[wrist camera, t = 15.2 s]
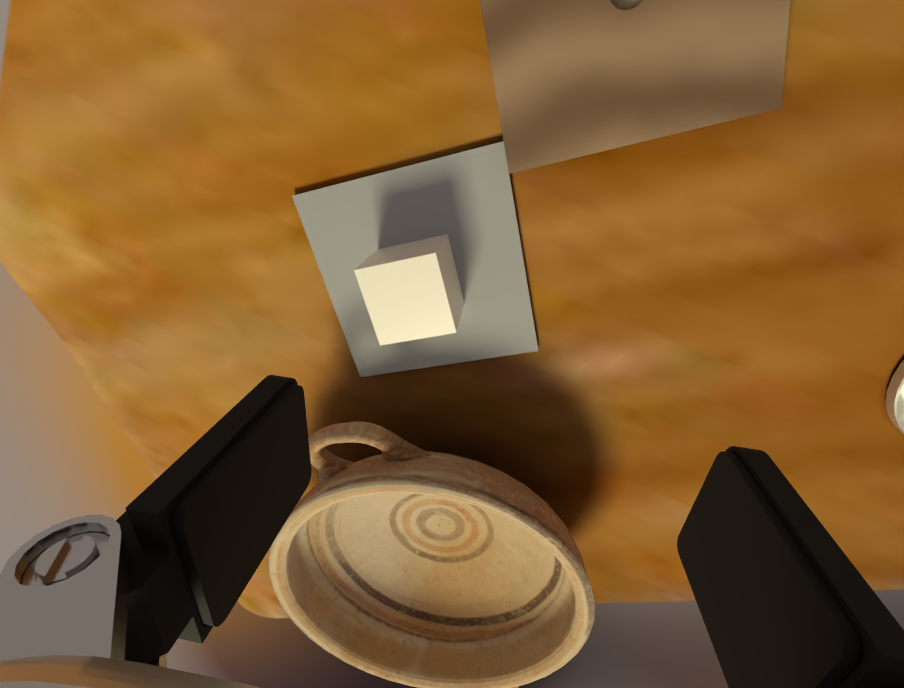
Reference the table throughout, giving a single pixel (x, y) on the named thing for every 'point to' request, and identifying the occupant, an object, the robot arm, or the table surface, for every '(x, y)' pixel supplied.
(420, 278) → the cream cube
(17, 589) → the robot arm
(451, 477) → the ceramic bowl
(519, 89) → the tan square base plate
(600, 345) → the table surface
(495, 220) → the gray square plate
